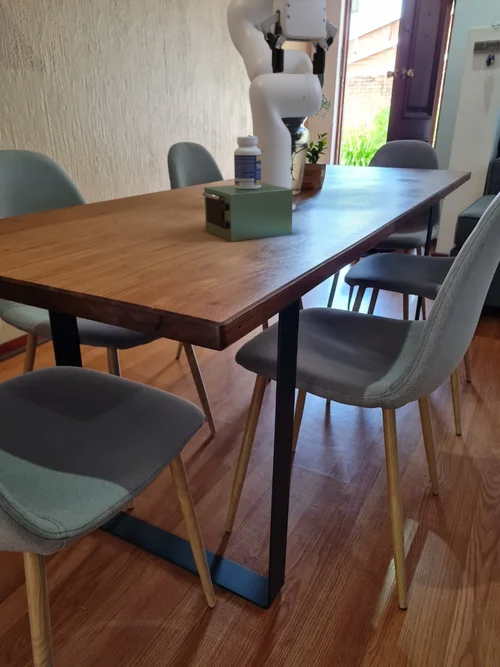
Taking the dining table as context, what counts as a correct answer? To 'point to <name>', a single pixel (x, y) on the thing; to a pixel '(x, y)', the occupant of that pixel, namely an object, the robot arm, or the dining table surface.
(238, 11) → the robot arm
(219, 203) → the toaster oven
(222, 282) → the dining table surface
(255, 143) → the pill bottle
